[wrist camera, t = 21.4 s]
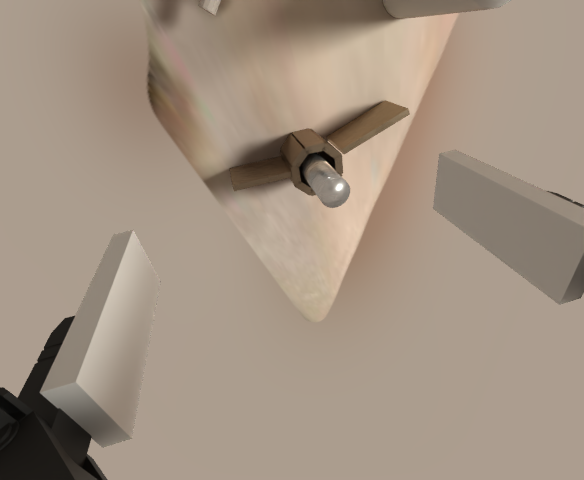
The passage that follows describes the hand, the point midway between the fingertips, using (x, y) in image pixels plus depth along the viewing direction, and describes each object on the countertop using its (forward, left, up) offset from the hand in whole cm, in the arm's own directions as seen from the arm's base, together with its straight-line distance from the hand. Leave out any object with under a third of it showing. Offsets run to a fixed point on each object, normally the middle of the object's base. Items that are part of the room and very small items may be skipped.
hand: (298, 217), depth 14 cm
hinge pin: (+10, +8, -35) cm, 37 cm away
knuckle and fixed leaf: (+10, +4, -35) cm, 36 cm away
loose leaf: (+7, +17, -34) cm, 39 cm away
